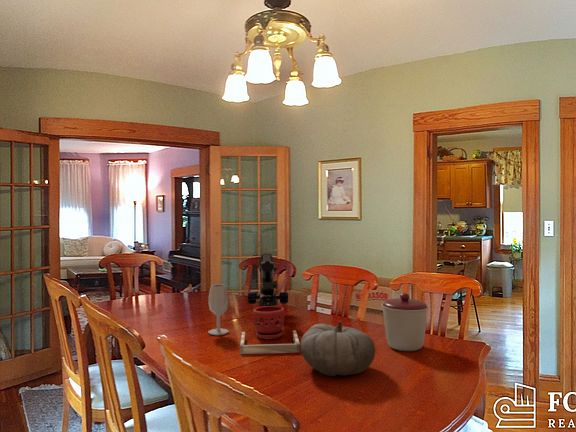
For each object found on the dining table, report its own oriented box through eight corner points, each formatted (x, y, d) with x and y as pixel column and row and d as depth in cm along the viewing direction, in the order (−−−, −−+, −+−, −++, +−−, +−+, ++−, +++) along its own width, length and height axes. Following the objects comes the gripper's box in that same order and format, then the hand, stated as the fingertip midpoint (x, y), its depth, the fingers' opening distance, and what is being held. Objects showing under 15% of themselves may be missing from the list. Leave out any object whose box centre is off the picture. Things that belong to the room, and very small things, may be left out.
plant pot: (285, 332, 193) (285, 305, 193) (282, 341, 180) (282, 312, 180) (256, 331, 195) (256, 304, 194) (250, 340, 181) (250, 311, 181)
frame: (242, 339, 184) (242, 331, 184) (295, 337, 185) (295, 330, 185) (240, 354, 165) (240, 346, 164) (300, 352, 166) (299, 344, 166)
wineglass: (232, 332, 193) (232, 285, 193) (216, 337, 187) (216, 287, 186) (220, 329, 199) (219, 282, 199) (204, 333, 193) (203, 285, 192)
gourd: (318, 382, 130) (319, 322, 133) (286, 369, 153) (287, 317, 156) (389, 378, 140) (388, 322, 143) (348, 366, 162) (348, 318, 165)
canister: (372, 344, 176) (371, 291, 175) (408, 338, 183) (408, 287, 183) (400, 357, 159) (400, 299, 159) (439, 351, 166) (439, 295, 166)
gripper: (247, 275, 202) (246, 304, 191) (288, 274, 204) (289, 303, 193) (247, 289, 210) (247, 317, 199) (287, 288, 212) (288, 316, 201)
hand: (268, 313), depth 198 cm, fingers closed
